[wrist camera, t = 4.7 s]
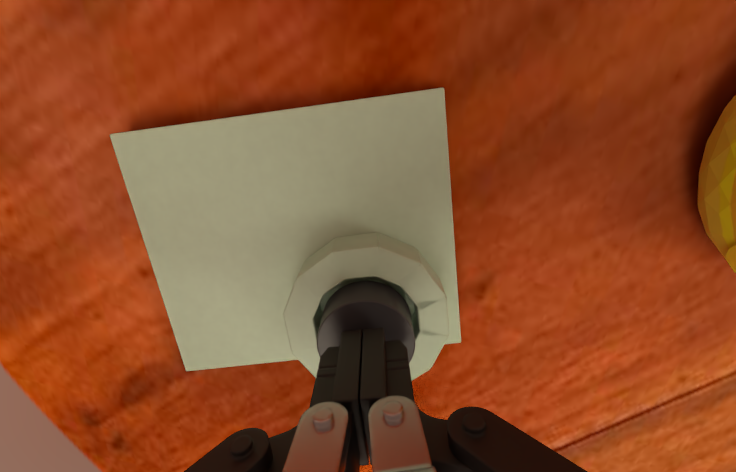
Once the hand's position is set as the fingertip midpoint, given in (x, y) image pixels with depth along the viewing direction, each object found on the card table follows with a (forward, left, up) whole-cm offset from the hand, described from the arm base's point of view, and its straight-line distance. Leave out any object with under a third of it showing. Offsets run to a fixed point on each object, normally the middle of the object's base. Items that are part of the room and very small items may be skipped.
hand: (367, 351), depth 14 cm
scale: (-3, +3, -5) cm, 6 cm away
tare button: (0, 0, -2) cm, 2 cm away
